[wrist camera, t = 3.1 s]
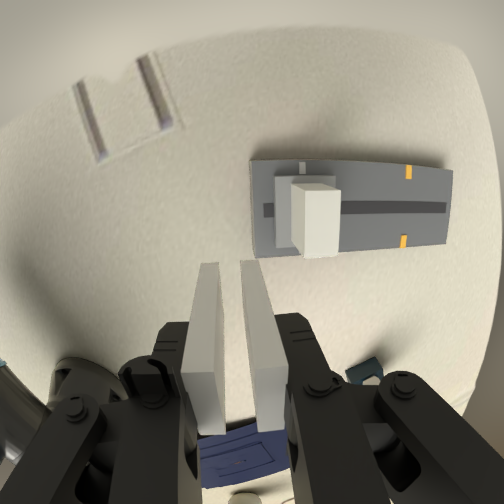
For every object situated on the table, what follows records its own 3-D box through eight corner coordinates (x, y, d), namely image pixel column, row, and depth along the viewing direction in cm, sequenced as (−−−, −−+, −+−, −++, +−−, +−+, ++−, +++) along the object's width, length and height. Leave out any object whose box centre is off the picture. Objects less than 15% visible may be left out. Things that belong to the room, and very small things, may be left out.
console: (252, 248, 32) (255, 258, 29) (248, 160, 29) (251, 161, 26) (433, 237, 34) (446, 244, 31) (439, 167, 31) (454, 170, 28)
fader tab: (274, 244, 29) (286, 268, 23) (272, 175, 27) (285, 182, 21) (329, 240, 29) (352, 262, 24) (331, 175, 27) (357, 181, 21)
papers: (140, 440, 43) (139, 453, 39) (283, 399, 45) (289, 413, 42) (194, 483, 51) (196, 494, 48) (307, 450, 54) (312, 461, 50)
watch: (351, 391, 43) (372, 437, 33) (342, 364, 40) (368, 415, 30) (378, 377, 43) (404, 421, 32) (374, 349, 40) (404, 396, 30)
